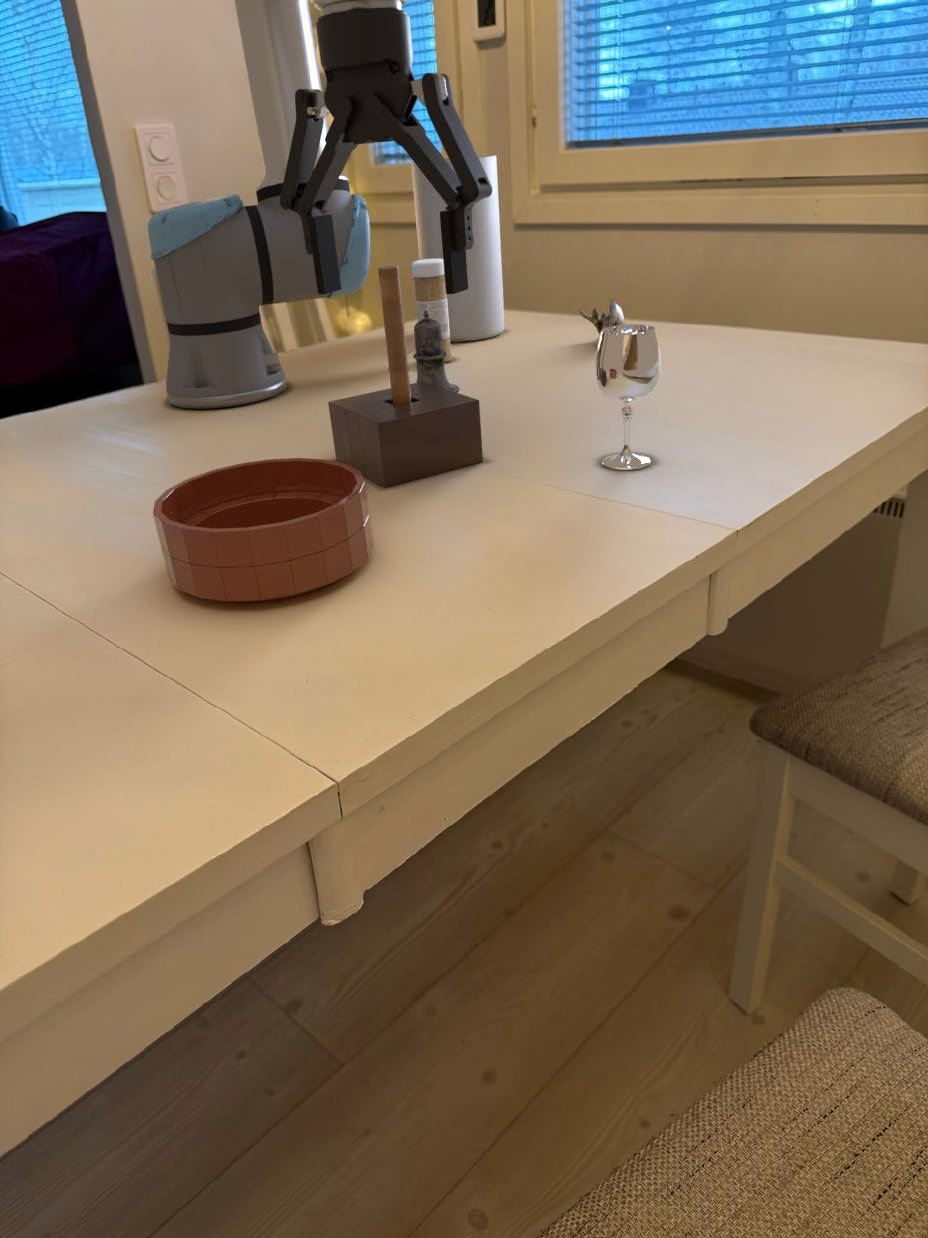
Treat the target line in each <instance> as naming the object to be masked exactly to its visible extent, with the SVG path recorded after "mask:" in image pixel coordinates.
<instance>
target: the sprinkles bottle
mask: <svg viewBox="0 0 928 1238" xmlns="http://www.w3.org/2000/svg"><path fill="white" fill-rule="evenodd" d="M411 273H412V275H411V276H412V277H413V278H412V279H413V281H414V291H415V309H416V317H417V322H419V321H421V320H422V319H423V318H424V315H423V314H424V312H425V310H427V312H428V313H429V315H428V316H429V318H431V319H432V320H436V321H437V322H438V323H439V324H440V326H441V335H442V347H443V351H444V352H446V353H447V354H446V356H445V357H444V364H445V363H448V362H450V361H451V360H452V359H453V354H452V346H451V342H450V329H449V316H448V303H447V294H446V287H445V274H444V261H443V259H423V260H419V259H418V260H415V261H412V262H411Z"/></svg>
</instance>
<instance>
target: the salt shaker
mask: <svg viewBox="0 0 928 1238" xmlns="http://www.w3.org/2000/svg"><path fill="white" fill-rule="evenodd" d="M423 315H424V318H423V319H422V320H421V321H419V322H418V321H417V322H416V323H415V325H414V326H413V333H414V335H413V336H414V344H415V353H414V354H413V355H412V358H413V359H414V360H415V362H416V363H415V364H416V374H417V375H416V383H418V382H422V381H423V382H426V383H429V384H432V385H435V386H438V387H441V388H444V389H447V390H450V391H453V392H456V393H459V392H460V387H459V385H456V384H453V383H450V382H449V381H448V377H447V374H446V366H445V365H446V364H445V363H444V357H445V356H446V354H447V353H446V352H444V351H443V347H442V335H441V326H440V324H439V323H438V322H437V321H436V320H432V319H431V318H429V316H428V315H429V313H428V312H427V310H425V312H424V314H423Z"/></svg>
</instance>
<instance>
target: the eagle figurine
mask: <svg viewBox="0 0 928 1238" xmlns="http://www.w3.org/2000/svg"><path fill="white" fill-rule="evenodd" d="M578 312H579V314H580V315H581V316H582V318H583V319H584V320H587V321H589V322H590V323H591V324H593V326H594V327H595V328H596V331H597V333H598V335H599V336H600V333H601V330H602V329H604V328H607V327H611V326H617V325H627V324H626V323H624V322H625V317H624V313H623V310H622V307H620V306H619V304H617V303H616V301H615V300H614V299H613V298H611V299H610V305H609V314H607V313H606V310H602V315H601V317H599V313H598V311H597V309H596V307H594V308H593V310H592V311H591V316H589V314H586V313H585V312H584V311H583V310H582V309H578Z"/></svg>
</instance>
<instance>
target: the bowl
mask: <svg viewBox="0 0 928 1238" xmlns="http://www.w3.org/2000/svg"><path fill="white" fill-rule="evenodd" d="M366 485H367V484H366V479H365V478H364V476H363V475H362V474H361V472H360V471H358V470H357V469H355V468H353V467H351V466H349V465H347V464H344V463H340V462H338V461H336V460H335V461H334V460H329V459H323V458H322V459H321V458H309V457H308V458H307V457H292V458H272V459H271V458H269V459H263V460H255V461H249V462H242V463H237V464H233V465H229V466H224V467H220V468H215V469H212V470H209V471H206V472H203V473H200V474H198V475H195V476H192V477H189V478H187V479H185V480H182V481H181V482H179V483H177V484H175V485H173V486H171V487H169V488H168V489H166V490H164V492H163V493H162V494H161V495H160V496H159V497H158V498H157V499H156V500H154V504H153V508H152V509H153V510H152V516H153V520H154V524H155V527H156V532H157V536H158V541H159V543H160V548H161V552H162V556H163V560H164V564H165V568H166V573H167V577H168V579H169V580H170V582H171V583H172V584H173V585H174V586H175V588H176V589H177V590H178V591H181V592H183V593H186V594H188V595H191V596H193V597H196V598H198V599H205V600H213V601H221V602H231V603H232V602H233V603H234V602H235V603H259V602H260V603H261V602H262V603H263V602H271V601H278V600H283V599H288V598H292V597H296V596H300V595H304V594H307V593H311V592H313V591H316V590H318V589H321V588H324V587H326V586H328V585H330V584H331V583H334V582H336V581H338V580H340V579H342V578H344V577H346V576H347V575H350V574H352V573H354V571H356V570H357V569H358V568H359V567H360V566H361V565H363V564H364V563H365V562H366V561H367V560H368V559H369V557H370V555H371V552H372V549H373V547H374V540H373V533H372V525H371V516H370V508H369V500H368V493H367V486H366Z"/></svg>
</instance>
